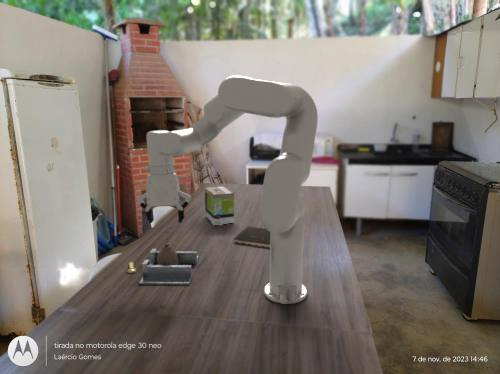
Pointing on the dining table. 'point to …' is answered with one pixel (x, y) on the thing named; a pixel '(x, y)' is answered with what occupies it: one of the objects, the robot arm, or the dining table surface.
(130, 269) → the brass key
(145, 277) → the bracket
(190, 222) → the dining table surface
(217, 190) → the tea box
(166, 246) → the vase
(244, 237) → the hardcover book
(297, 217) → the robot arm
